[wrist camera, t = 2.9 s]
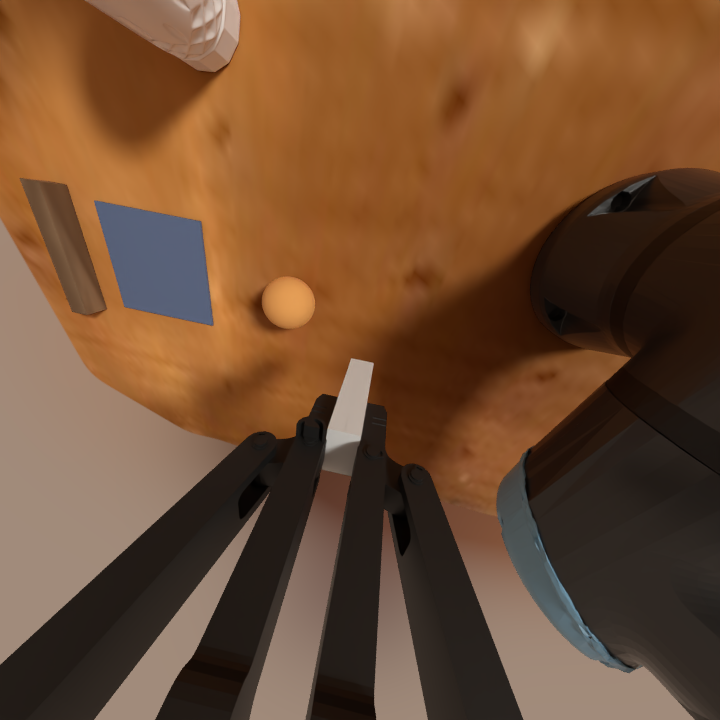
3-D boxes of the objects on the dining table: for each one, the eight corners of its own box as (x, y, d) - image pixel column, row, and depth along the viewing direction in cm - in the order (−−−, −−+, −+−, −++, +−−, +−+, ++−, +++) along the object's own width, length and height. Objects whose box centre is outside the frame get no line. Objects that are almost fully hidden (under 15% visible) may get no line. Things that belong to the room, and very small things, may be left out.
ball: (323, 277, 29) (307, 288, 24) (318, 323, 32) (304, 341, 27) (275, 267, 29) (250, 277, 24) (275, 314, 32) (252, 330, 27)
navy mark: (201, 221, 28) (199, 221, 28) (213, 325, 34) (212, 325, 33) (95, 200, 28) (93, 200, 28) (126, 306, 34) (124, 306, 34)
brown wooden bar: (66, 184, 28) (38, 181, 26) (106, 309, 35) (87, 315, 32) (49, 181, 28) (19, 178, 26) (92, 306, 35) (72, 311, 33)
